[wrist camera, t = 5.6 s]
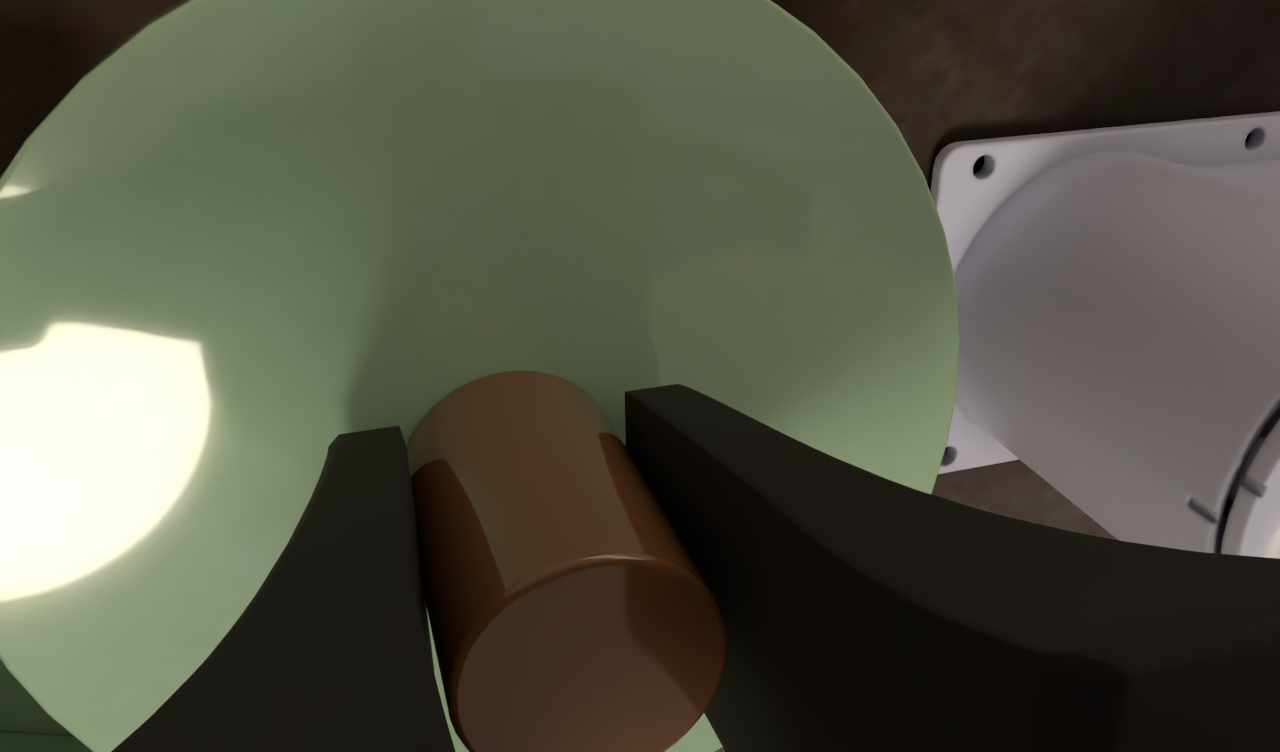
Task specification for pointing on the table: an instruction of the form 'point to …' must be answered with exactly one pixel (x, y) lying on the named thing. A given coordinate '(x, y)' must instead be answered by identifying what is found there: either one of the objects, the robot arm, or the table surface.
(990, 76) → the table surface
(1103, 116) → the table surface
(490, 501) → the pot lid
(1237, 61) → the table surface
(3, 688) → the pot
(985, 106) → the table surface
